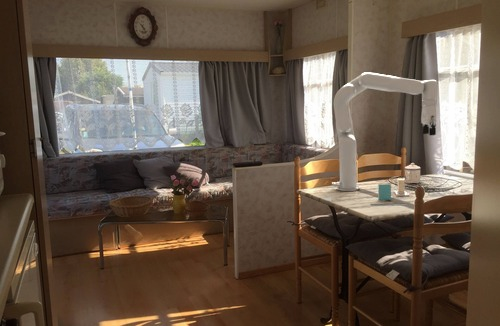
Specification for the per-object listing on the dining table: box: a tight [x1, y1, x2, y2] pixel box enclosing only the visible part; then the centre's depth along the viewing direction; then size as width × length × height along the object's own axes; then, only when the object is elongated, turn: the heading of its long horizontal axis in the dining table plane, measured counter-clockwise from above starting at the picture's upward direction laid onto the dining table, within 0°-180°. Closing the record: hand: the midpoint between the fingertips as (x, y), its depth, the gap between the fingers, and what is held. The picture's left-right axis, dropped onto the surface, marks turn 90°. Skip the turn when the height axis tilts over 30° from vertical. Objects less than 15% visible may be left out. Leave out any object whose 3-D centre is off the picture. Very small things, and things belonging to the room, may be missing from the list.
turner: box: [393, 178, 409, 196], centre depth 226 cm, size 6×10×8 cm, turn 171°
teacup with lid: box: [404, 162, 421, 184], centre depth 256 cm, size 12×9×12 cm
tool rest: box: [391, 190, 414, 198], centre depth 227 cm, size 10×13×1 cm
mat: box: [370, 203, 406, 207], centre depth 214 cm, size 16×16×1 cm
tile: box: [377, 183, 392, 201], centre depth 217 cm, size 6×2×8 cm, turn 81°
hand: (429, 134), depth 236 cm, fingers open, 9 cm apart
